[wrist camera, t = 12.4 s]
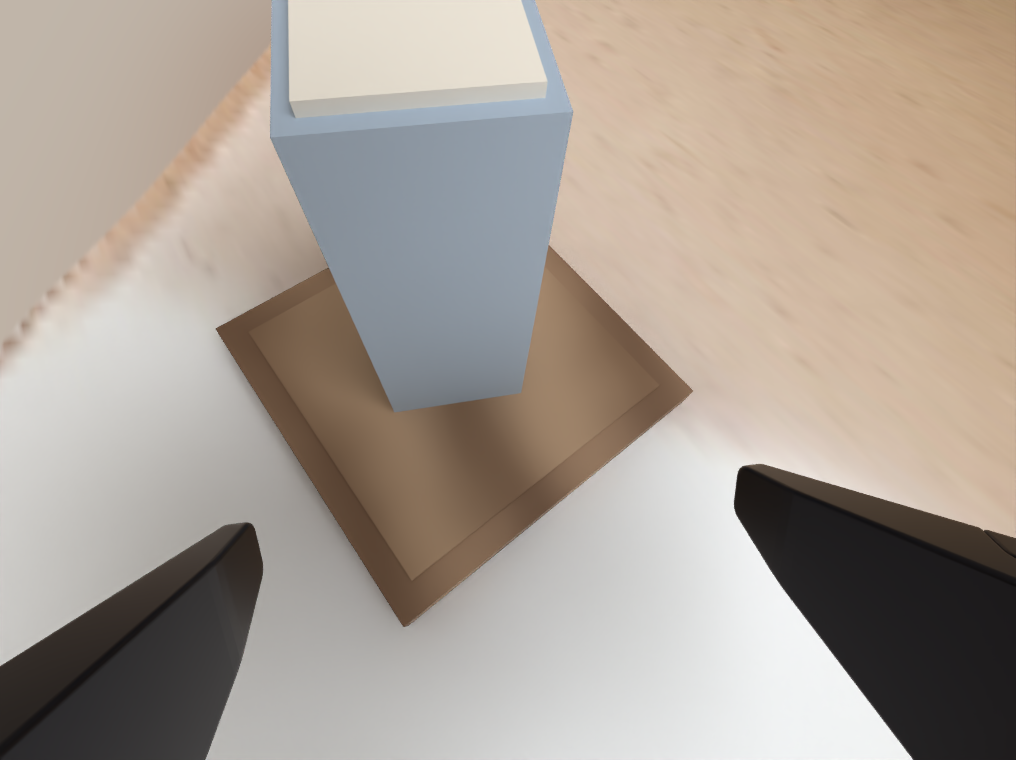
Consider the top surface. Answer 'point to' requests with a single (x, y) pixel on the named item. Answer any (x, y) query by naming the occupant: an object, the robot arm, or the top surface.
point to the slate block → (426, 178)
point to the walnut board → (449, 429)
